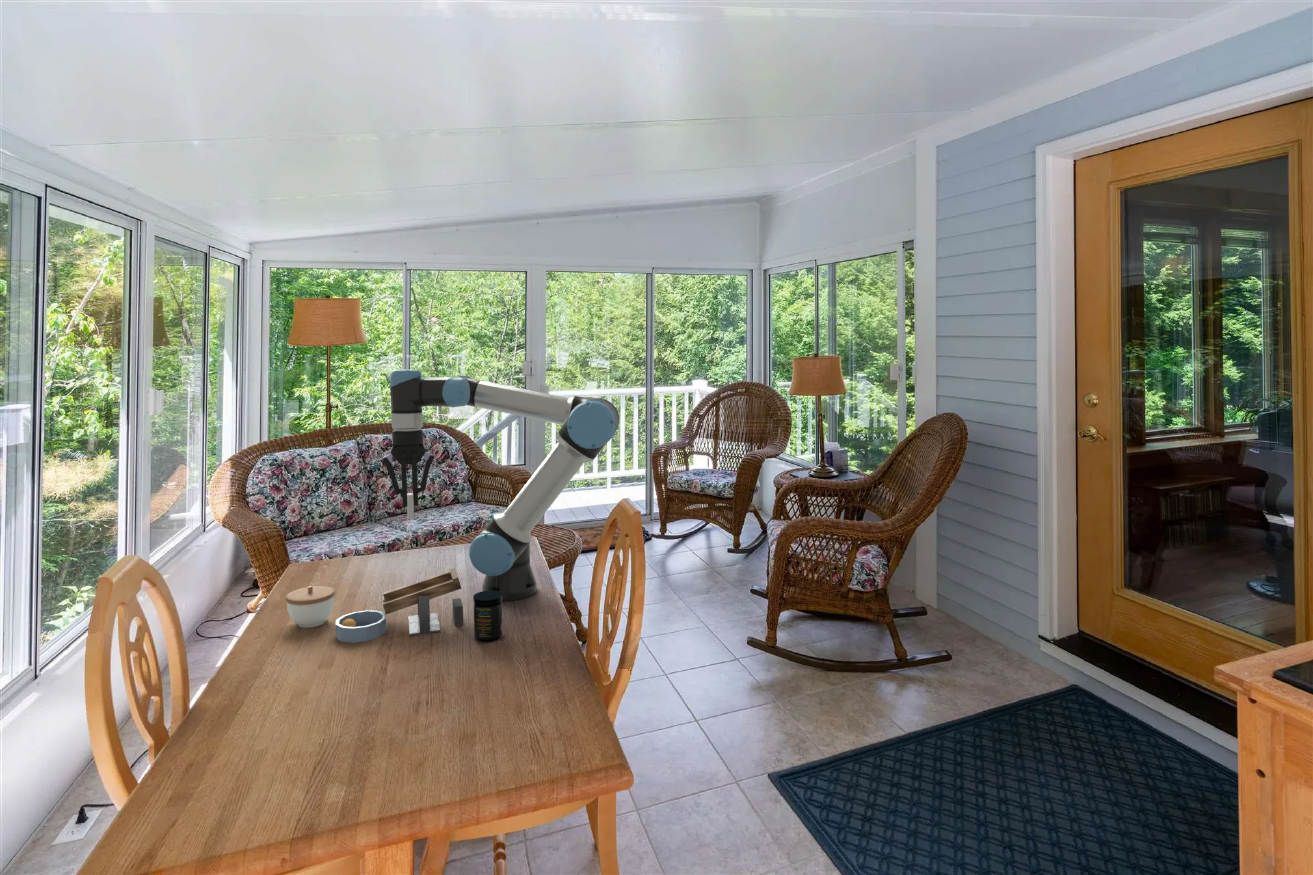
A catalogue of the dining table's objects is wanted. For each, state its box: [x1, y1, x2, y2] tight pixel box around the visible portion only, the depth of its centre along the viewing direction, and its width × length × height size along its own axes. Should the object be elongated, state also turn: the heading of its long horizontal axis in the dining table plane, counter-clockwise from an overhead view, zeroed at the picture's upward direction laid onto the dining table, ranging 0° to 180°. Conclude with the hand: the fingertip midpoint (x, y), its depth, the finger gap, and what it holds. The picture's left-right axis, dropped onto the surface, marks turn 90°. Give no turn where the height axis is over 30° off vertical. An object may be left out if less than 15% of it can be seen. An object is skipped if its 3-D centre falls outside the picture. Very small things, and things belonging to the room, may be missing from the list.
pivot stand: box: [407, 595, 441, 637], centre depth 165 cm, size 7×12×9 cm, turn 22°
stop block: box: [452, 597, 464, 626], centre depth 168 cm, size 2×6×5 cm, turn 22°
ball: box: [342, 619, 356, 627], centre depth 159 cm, size 3×3×3 cm
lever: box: [382, 568, 462, 615], centre depth 167 cm, size 18×14×3 cm
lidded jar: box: [285, 585, 335, 629], centre depth 166 cm, size 11×11×9 cm
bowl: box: [334, 609, 387, 644], centre depth 160 cm, size 11×11×4 cm
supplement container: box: [472, 590, 504, 643], centre depth 158 cm, size 7×7×10 cm
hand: (410, 518), depth 175 cm, fingers closed
